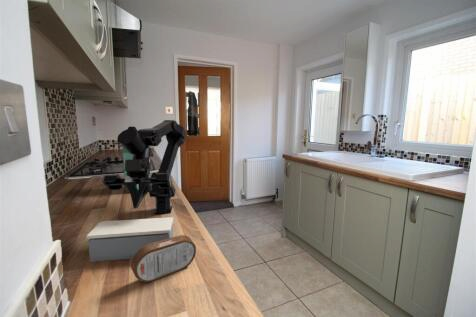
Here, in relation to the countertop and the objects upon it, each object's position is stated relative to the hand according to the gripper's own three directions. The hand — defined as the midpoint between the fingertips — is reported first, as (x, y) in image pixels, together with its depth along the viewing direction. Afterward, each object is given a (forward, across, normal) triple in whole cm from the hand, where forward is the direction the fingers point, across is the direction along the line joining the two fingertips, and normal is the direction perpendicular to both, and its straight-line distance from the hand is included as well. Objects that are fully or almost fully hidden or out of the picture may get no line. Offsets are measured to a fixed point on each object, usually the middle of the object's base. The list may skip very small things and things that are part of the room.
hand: (135, 208), depth 67 cm
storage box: (+10, 0, +5) cm, 12 cm away
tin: (+18, +10, -3) cm, 21 cm away
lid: (+6, 0, +1) cm, 6 cm away
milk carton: (-29, -13, +50) cm, 59 cm away
